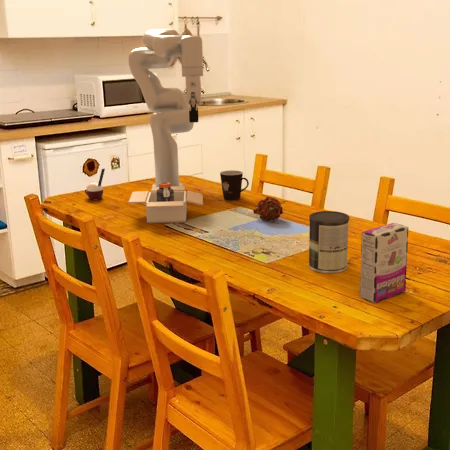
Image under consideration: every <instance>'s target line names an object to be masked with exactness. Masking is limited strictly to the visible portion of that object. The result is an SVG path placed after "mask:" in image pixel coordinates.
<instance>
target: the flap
mask: <svg viewBox="0 0 450 450" xmlns="http://www.w3.org/2000/svg"><path fill="white" fill-rule="evenodd" d="M203 198H204V197H203V193H200V192H196V191H193V190H192V191H191V190H186V202H187V203H189V204H194V205H198V206H202V207H203V205H204V199H203Z"/></svg>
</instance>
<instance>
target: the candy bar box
mask: <svg viewBox="0 0 450 450" xmlns="http://www.w3.org/2000/svg"><path fill="white" fill-rule="evenodd" d="M360 240H361V245H360V246H361V249H360V251H361V252H360V278H359V279H360V280H359V281H360V286H359V288H360V289H359V297H360V298H361V299H363V300H365V301H369V302H370V303H374V304H377V303H380V302H382V301H385V300H387V299H390V298H394V297H395V296H397V295H398V296H399V295H400V294H403V293H406V285H407V283H406V282H407V268H408V267H407V266H408V265H407V261H408V246H409V245H408V244H409V226H407V225H403V224H399V223H396V222H392V223H388V224H384V225H381V226H377V227H374V228H371V229H367V230H364V231H361V239H360Z"/></svg>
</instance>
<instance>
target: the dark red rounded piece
mask: <svg viewBox="0 0 450 450" xmlns="http://www.w3.org/2000/svg"><path fill="white" fill-rule="evenodd" d="M254 208H255V209H252V212H253V214H254V215H255V214H256V215H259V219H260V220H262V221H266V220H267V221H268V222H274V221H275V220H278V219H279V218H280V216H281V215H282V214H284V210H283V209H284V208H283V206H282V204H281V202H280V201H279V200H278V199H277V198H275V197H272V196H266V197H265V198H264V199H260V200H259V201H258V202H257V204H256V205H255V206H254Z"/></svg>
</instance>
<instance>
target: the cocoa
mask: <svg viewBox="0 0 450 450" xmlns="http://www.w3.org/2000/svg"><path fill="white" fill-rule="evenodd" d="M104 174H105V168H102V169H101V171H100V175H99V180H98V182H94V181H93V182H91V183H89V184H87V186H86V189H85V190H84V193H85V195H87V197H88V199H90V200H91V199H98V200H100V199H102V197H103V195H104V187H103V186H102V183H103V178H104ZM99 198H100V199H99Z"/></svg>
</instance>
